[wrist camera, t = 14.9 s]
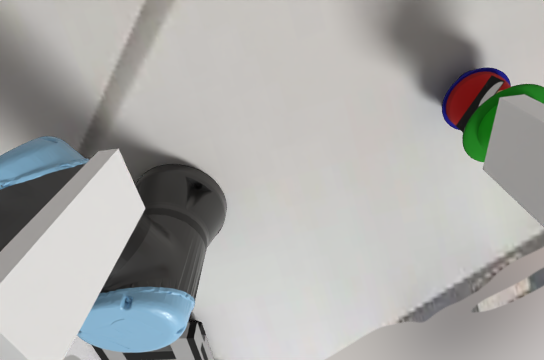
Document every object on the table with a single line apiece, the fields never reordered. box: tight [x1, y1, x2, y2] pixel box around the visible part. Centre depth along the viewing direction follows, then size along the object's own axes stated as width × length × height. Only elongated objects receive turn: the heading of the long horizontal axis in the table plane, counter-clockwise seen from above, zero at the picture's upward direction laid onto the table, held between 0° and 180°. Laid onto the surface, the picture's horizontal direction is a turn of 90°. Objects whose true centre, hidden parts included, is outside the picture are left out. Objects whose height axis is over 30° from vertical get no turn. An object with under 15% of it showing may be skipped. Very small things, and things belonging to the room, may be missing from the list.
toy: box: [442, 68, 544, 162], centre depth 37 cm, size 9×9×15 cm
